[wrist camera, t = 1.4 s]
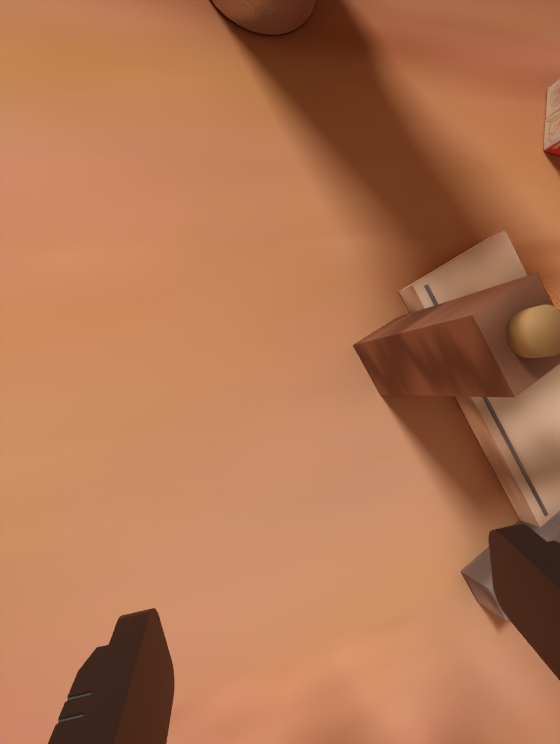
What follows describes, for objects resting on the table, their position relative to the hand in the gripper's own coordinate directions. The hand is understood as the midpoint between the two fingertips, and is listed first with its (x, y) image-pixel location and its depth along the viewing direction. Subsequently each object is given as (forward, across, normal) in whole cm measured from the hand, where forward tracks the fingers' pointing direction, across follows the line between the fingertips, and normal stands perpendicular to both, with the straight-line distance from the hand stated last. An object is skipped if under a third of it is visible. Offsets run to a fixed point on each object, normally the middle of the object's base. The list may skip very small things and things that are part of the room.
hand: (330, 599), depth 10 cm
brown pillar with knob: (+23, -10, 0) cm, 25 cm away
